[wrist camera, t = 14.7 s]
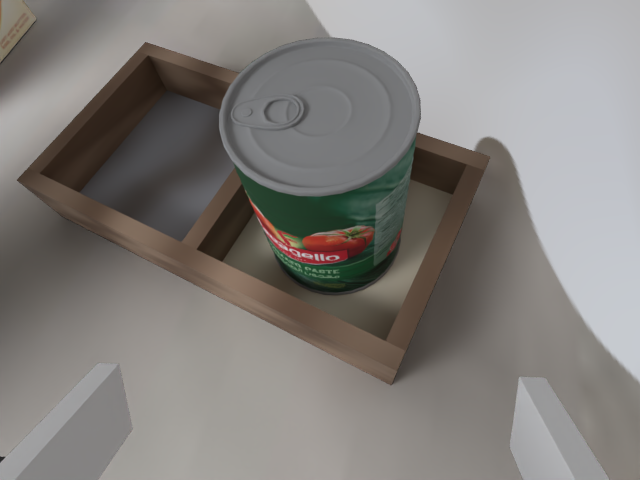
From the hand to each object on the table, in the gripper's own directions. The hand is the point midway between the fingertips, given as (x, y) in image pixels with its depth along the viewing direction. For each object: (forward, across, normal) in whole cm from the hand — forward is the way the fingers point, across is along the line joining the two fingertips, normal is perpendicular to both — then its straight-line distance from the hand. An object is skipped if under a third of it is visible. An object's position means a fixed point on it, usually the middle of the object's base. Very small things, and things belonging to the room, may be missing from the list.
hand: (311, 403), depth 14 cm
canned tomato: (+14, 0, +1) cm, 14 cm away
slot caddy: (+16, -5, +2) cm, 17 cm away
